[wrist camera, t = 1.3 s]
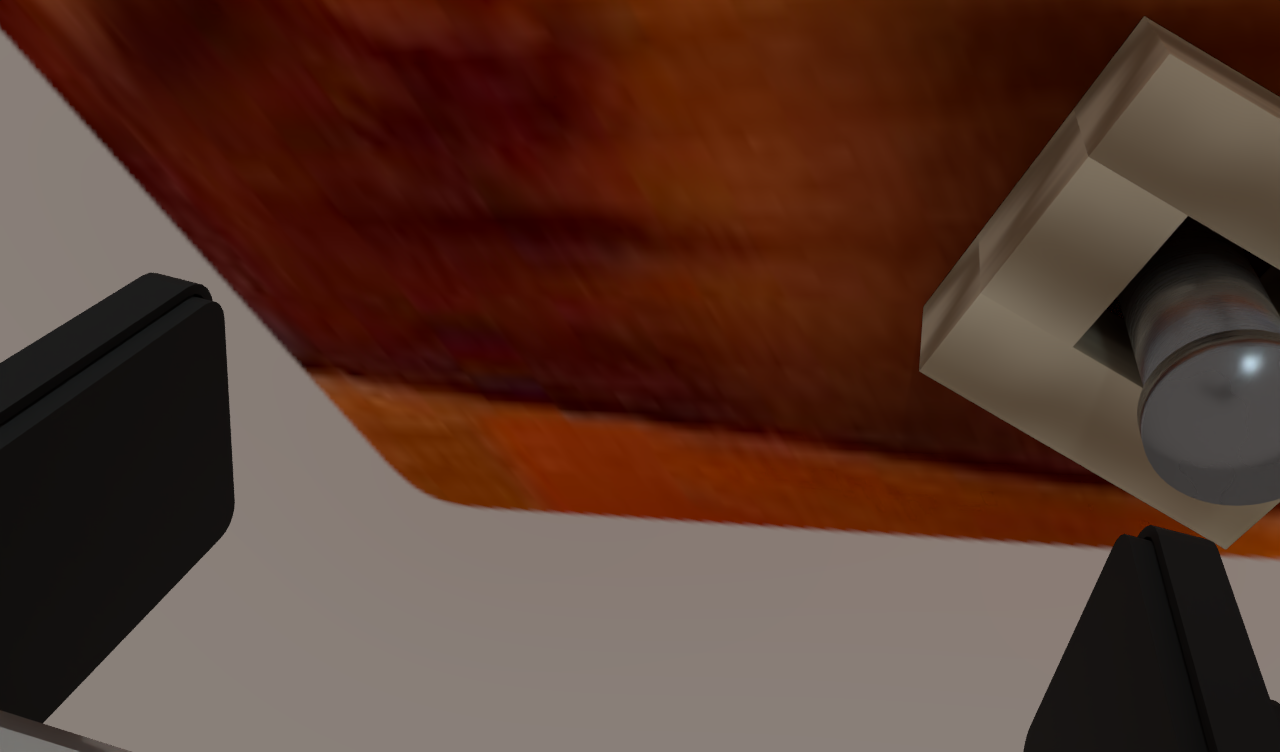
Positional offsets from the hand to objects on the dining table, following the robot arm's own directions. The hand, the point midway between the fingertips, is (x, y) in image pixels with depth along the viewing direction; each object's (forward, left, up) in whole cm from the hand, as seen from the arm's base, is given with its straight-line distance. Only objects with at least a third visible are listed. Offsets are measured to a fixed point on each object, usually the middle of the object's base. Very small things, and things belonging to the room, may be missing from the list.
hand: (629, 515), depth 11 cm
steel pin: (+2, +14, -29) cm, 33 cm away
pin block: (+2, +14, -29) cm, 33 cm away
